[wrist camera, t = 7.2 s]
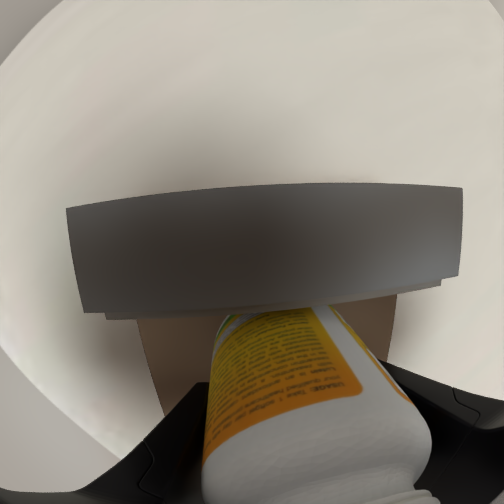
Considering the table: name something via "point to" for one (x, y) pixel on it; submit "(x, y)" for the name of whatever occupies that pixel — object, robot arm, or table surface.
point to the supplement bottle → (307, 416)
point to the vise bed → (259, 261)
